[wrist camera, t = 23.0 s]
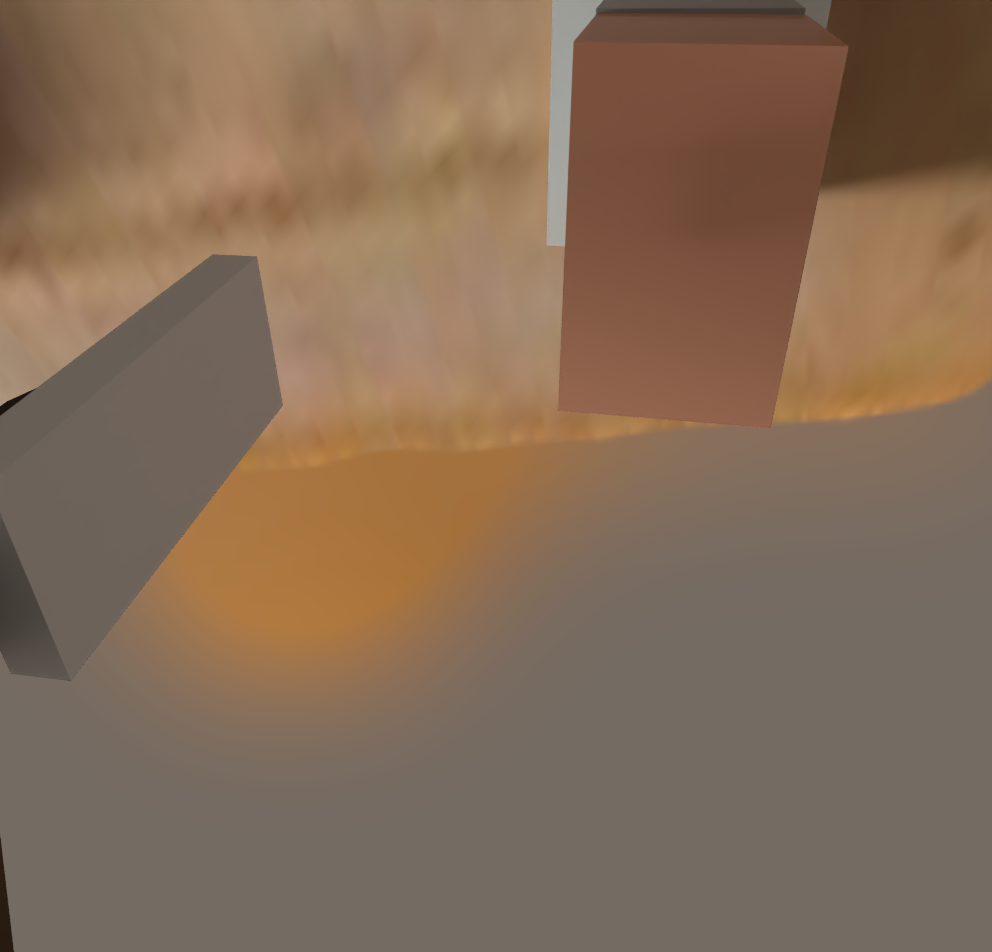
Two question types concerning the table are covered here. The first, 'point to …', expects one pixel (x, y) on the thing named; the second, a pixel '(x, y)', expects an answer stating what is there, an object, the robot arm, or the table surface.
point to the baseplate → (568, 21)
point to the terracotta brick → (691, 209)
